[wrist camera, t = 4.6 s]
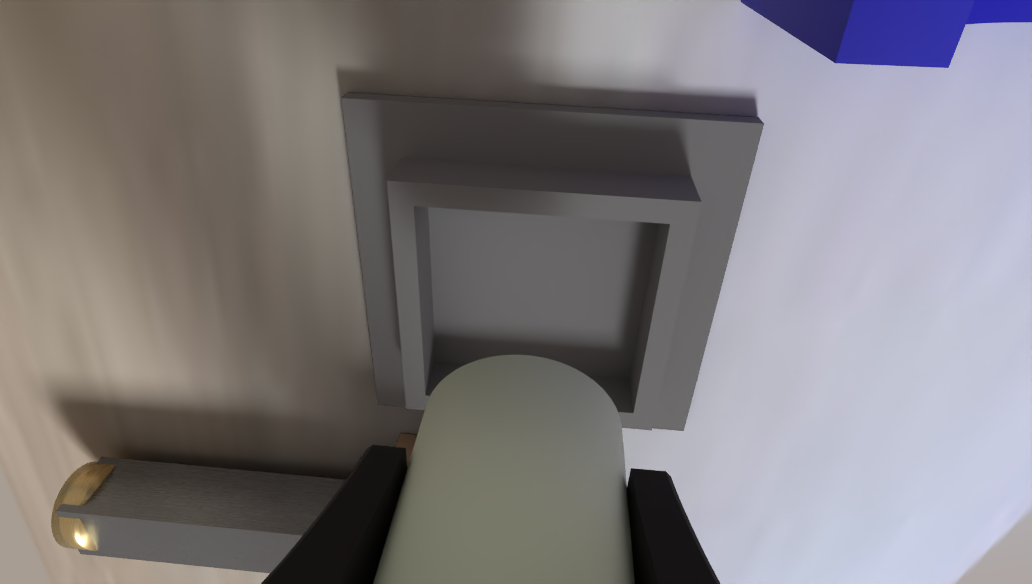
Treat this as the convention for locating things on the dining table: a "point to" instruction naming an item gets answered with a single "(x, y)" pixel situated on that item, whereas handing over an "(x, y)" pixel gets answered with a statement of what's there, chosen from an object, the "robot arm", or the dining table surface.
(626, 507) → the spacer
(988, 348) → the dining table surface
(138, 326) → the dining table surface
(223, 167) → the dining table surface
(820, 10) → the blue semicircular bracket
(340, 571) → the robot arm
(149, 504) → the shaft
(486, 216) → the cradle
